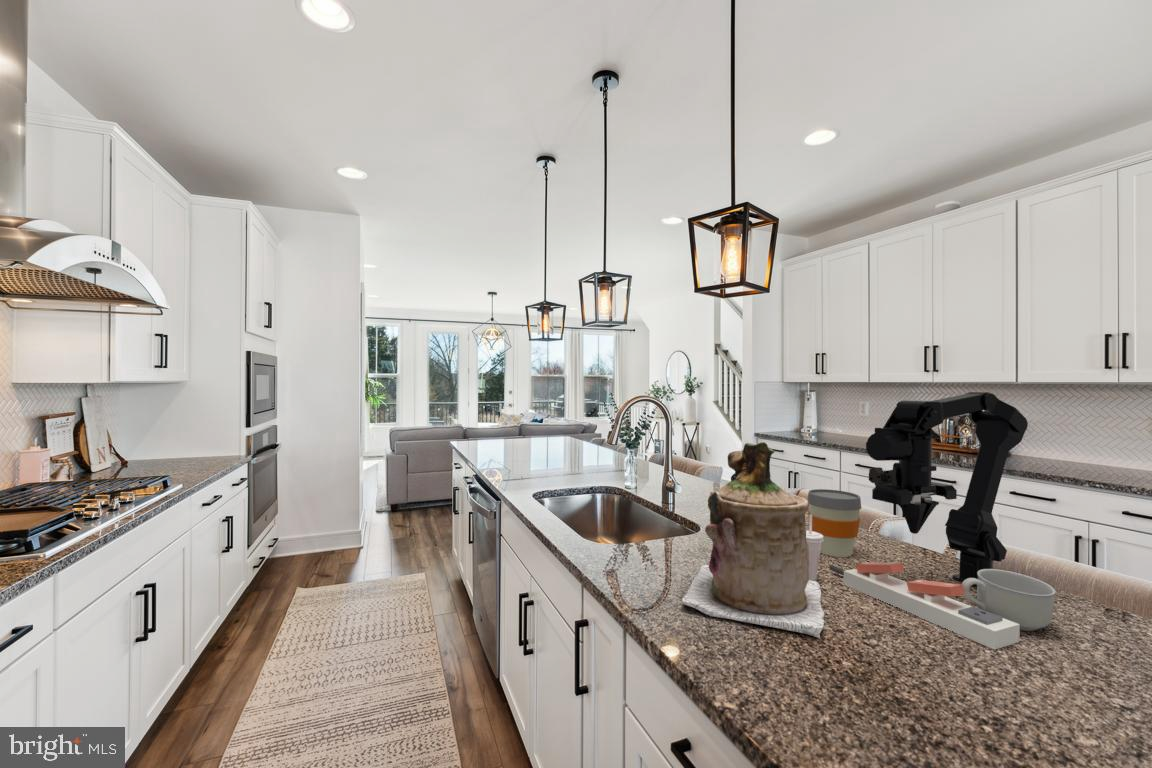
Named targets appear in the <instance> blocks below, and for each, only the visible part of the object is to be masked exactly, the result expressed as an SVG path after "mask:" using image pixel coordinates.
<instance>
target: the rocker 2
mask: <svg viewBox="0 0 1152 768" xmlns="http://www.w3.org/2000/svg"><path fill="white" fill-rule="evenodd" d="M906 582H907V586H908V591H913V592H920V593H928V594H935V595H942V596H945V597H949V598H951V597H952V598H953V597H958V596H964V594H965V593H964V589H963V585H962V583H961V584H960V583H951V582H942V581H941V582H940V581H933V580H926V579H925V580H924V579H915V580H910V581H906Z"/></svg>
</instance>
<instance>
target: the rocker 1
mask: <svg viewBox="0 0 1152 768" xmlns="http://www.w3.org/2000/svg"><path fill="white" fill-rule="evenodd" d="M855 569H857V572H868V573H888V574H895V573H902V572H905V569H904V565H903V563H902V562H886V561H885V562H883V561H882V562H881V561H880V562H877V561H873V562H872V561H869V562H867V561H866V562H860V563H856V564H855Z"/></svg>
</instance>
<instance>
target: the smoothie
mask: <svg viewBox="0 0 1152 768" xmlns="http://www.w3.org/2000/svg"><path fill="white" fill-rule="evenodd" d="M808 522H809V527H808V528H809V529H808V530H806V541H807V543H808V547H809V569H808V570H809V580H812V581H816V580H817V578H818V569H819V563H820V558H821V557H820V556H821V553H820V551H821V545H822V542H823V541H824V540H823V535H822V534H820V533H817V532H813V531H812V515H809V516H808Z"/></svg>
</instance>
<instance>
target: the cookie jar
mask: <svg viewBox="0 0 1152 768" xmlns="http://www.w3.org/2000/svg"><path fill="white" fill-rule="evenodd" d="M774 453H775V450H774V449H772V448H770V447H769V446H768V444H767V442H765V441H760V442H759V443H755V444H754V443H749V442H746V443H745V444H744V445H743V449H742V450H735V451H731V452H729V453H728V454H727V465H728V467H729V468H730V469H731V470H733V471H734V473H733V474H732V475H731V476H730V481H729V482H728V483H726V484H724V485H723V486H721V487H720V488H719V489H716V490H715V491H713V490H712V491H710V494H709V496H708V499H707V508H708V510H709V524H707V525H706V526H705V528H704V532H705V534H706V536H707V537H708V538H709V540H711V542H712V549H711V553H710V559H709V564H702V566H700V567H699V570H698V574H697V575H696V576H694V577H693V579H692V580H693V581H692V583H691V584H690V587H689V588H688V589H687V591H686V594H685V595H684V596H683V597H682V600H681V601H682V602H681V603H682V605H683V606H687V607H691V608H693V609H695V610H697V611H699V612H701V613H703V614H705V615H707V616H709V617H714V618H720V619H721V618H722V619H728V620H733V621H738V622H743V623H748V624H755V625H758V626H759V625H760V626H764V627H771V628H776V629H781V630H785V631H790V632H795V633H800V634H806V635H809V636H812V637H815V638H817V639H819V640H820V639H821V635H820V634H821V632H822V631H823V629H824V628H825V626H824V625H825V623H826V621H825V620H824V618H825V612H824V609H823V607H822V603H821V601H822V600H821V599H822V588H821V586H820V583H819V582H818V581H816V580H809V570H808V569H809V547H808V543H807V541H806V528H807V525H806V523H807V522H806V513H807V511H808V509H809V502H808V499H807V498H805V497H804V496H803V497H802V496H798V495H796V494H794V493H789V492H788V491H785V490H783V488H781V487H780V486H779V485H777V484H776V483H775V482H773V480H772V479H771V477H772V476H771V466H770V464H771V459H772V455H773V454H774Z"/></svg>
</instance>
